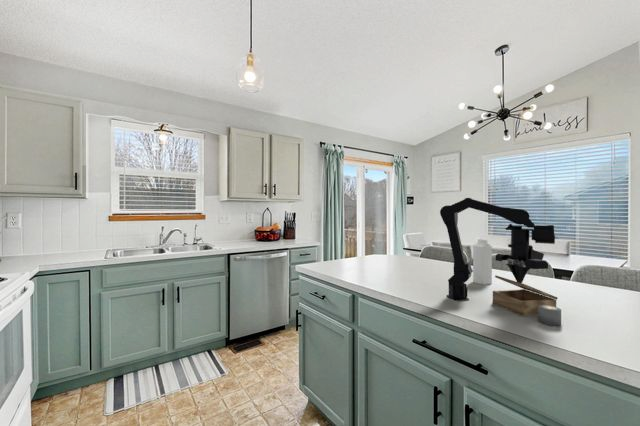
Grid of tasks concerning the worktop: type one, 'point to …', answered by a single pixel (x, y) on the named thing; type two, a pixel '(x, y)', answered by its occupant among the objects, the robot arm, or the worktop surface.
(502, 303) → the box
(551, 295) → the lid
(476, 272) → the milk
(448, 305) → the worktop surface
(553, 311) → the grey rounded block
